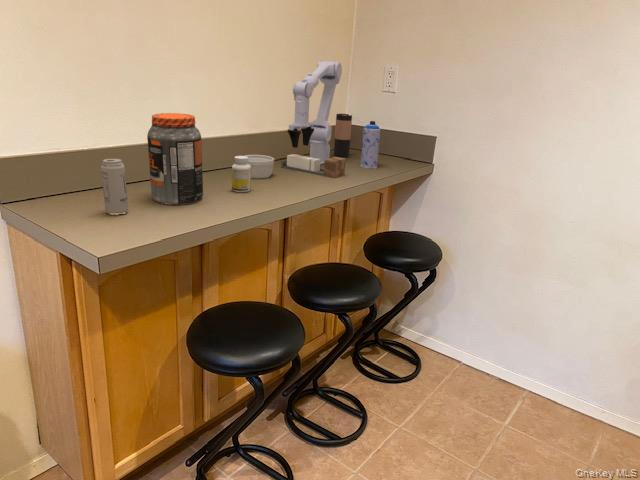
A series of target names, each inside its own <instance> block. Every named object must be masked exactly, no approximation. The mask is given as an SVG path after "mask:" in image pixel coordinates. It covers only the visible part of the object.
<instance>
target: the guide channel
mask: <svg viewBox="0 0 640 480" xmlns="http://www.w3.org/2000/svg"><path fill="white" fill-rule="evenodd" d="M280 165H281V168H283V169H284V168H285V169H288V170H293V171H298V172H302V173H308V174H313V175H317V176H321V177H325V176H324V168H321V167H320V171H318V172H314V171H309V170H304V169H300V168H295V167H290V166H287V159H285V160H281V161H280Z"/></svg>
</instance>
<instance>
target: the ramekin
mask: <svg viewBox="0 0 640 480" xmlns="http://www.w3.org/2000/svg"><path fill="white" fill-rule="evenodd" d="M245 156H247V157H248V164H249V165H250V166H251V179H256V180H257V179H267V178H270V177H271V176H272V174H273V171H274V170H273V169H274V163H275V158H274V157H272V156H269V155H263V154H248V155H247V154H245Z"/></svg>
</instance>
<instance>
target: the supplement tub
mask: <svg viewBox="0 0 640 480" xmlns="http://www.w3.org/2000/svg"><path fill="white" fill-rule="evenodd" d="M146 135H147V137H146V138H147V139H146V140H147V150H148V152H147V153H148V162H149V165H148V166H149V178H150V188H151V189H150V191H151V198H152V199H153V200H154V201H155V200H156V202H157V201H158V203H160V202H161V203H160V204H164V203H167V204H166V205H170V204H182V205H188V204H192V202H193V203H195V202H199V201H200V200H201V199H202V198H203V196H204V182H203V181H204V179H203V178H204V177H203V150H202V149H203V148H202V134H201V132H200V130H199V128H197V127H196V117H195V115H194V114H189V113H177V112H173V113H172V112H162V113H155V114H152V115H151V126H150V128H149V129H148V132H147V134H146ZM187 203H188V204H187Z"/></svg>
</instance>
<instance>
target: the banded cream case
mask: <svg viewBox="0 0 640 480" xmlns="http://www.w3.org/2000/svg"><path fill="white" fill-rule="evenodd" d="M286 160H287V166H290V167H295V168H300V169H304V170H309V171H314V172H321V171H320V168H321V164H320V160H321V159H317V158H312V157H310V156H306V155H302V154H300V155H299V154H295V153H293V154H287V155H286Z"/></svg>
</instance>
